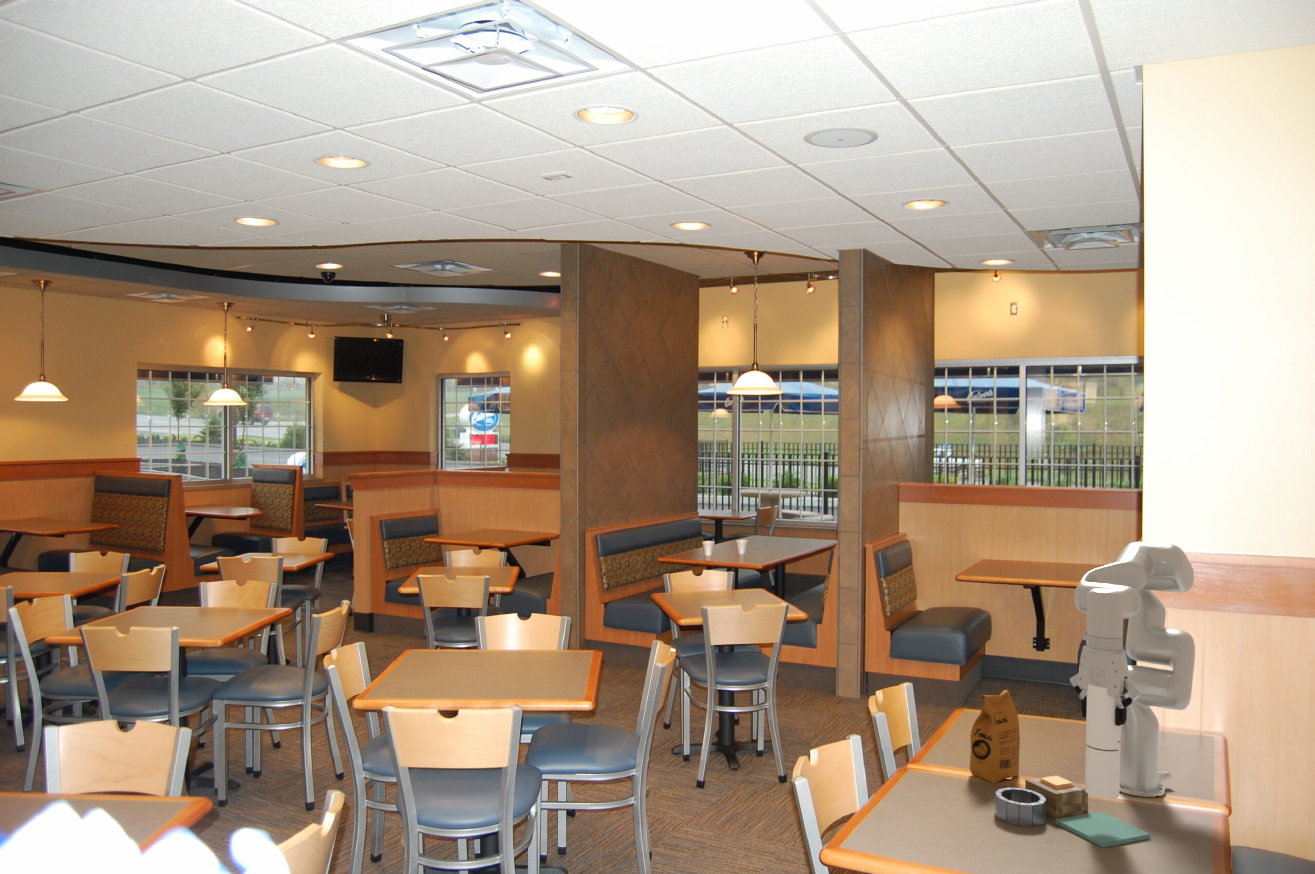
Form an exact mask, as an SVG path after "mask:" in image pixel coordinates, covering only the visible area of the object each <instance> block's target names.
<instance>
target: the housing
mask: <svg viewBox="0 0 1315 874" xmlns="http://www.w3.org/2000/svg"><path fill="white" fill-rule="evenodd" d="M1052 776H1058V777H1061V778H1063V779H1065V780H1067V781H1070V782H1072V788H1066V789H1060V790H1055V789H1053V788H1051V787H1048V786H1046V785H1044V784H1042V783H1041V778H1046V777H1052ZM1024 783H1025V784H1024V785H1025V788H1024V789H1027V790H1032V791H1035V792H1037V793H1039V794H1041V795H1043V796H1044V797H1045V799H1046V816H1048V817H1049V818H1052V819H1054V820H1056V819H1061V818H1067V817H1072V816H1078V815H1084V814H1089V794H1088V793H1086V792H1085V786H1083V785H1080V784H1079V783H1076V782H1074V781H1072V780H1069V779H1067V778H1065V777H1063V776H1061V775H1058V774H1054V775H1048V776H1043V777H1035V778H1028V779H1025V781H1024Z"/></svg>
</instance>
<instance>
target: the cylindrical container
mask: <svg viewBox="0 0 1315 874" xmlns="http://www.w3.org/2000/svg"><path fill="white" fill-rule="evenodd" d="M1120 697H1121V696H1120ZM1117 707H1118V705H1117V703H1116V701H1115V697H1112V696H1109V695H1107V688H1105V687H1100V686H1096V685H1091V684H1088V691H1087V712H1086V717H1085V719H1086V722H1085V723H1086V727H1085V770H1084V771H1085V772H1084V773H1085V777H1084V781H1085V782H1084V787H1085V792H1086V793H1088V796H1091V797H1092V796H1093V797H1095V798H1099V799H1105V800H1110V799H1111V800H1113V799H1118V798H1119V797H1120V791H1119V780H1120V726H1117V725H1116V724H1115V709H1116V708H1117Z"/></svg>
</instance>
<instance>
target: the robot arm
mask: <svg viewBox="0 0 1315 874" xmlns="http://www.w3.org/2000/svg"><path fill="white" fill-rule="evenodd" d="M1194 581H1195V574H1194V568H1193V565H1192V564H1191V562H1190V560H1189V558H1188V557H1187V554H1186V553H1185V552H1184V550H1183V549H1182V548H1181V547H1179V546H1177V545H1176V544H1172V543H1163V542H1162V543H1161V542H1149V541H1134V542H1130V543H1128V544H1127V545H1125V546H1124V547H1123V549H1122V550H1121V552H1120V553H1119V555H1118V557H1117V558H1116V560H1115V561H1114V563H1109V564H1105V565H1104V566H1100V567H1096V568H1094V569H1092V570H1090V571H1088V572H1086V573H1085V574H1084V575H1083V576H1082V577H1081V579H1080V581H1079V582H1078V585H1077V586H1076V589H1075V591H1074V600H1073V601H1074V604H1075V607H1076V608H1077V610H1078V611H1079V612H1081V613H1083V614H1086V615H1087V617H1086V626H1087V627H1086V634H1085V633H1084V634H1081V640H1083V641H1085V645H1084V646H1083V647H1082V650H1081V654H1080V659H1079V666H1078V673H1077V674H1075V675H1073V676H1072V677H1070V678H1069V682H1070V684H1071V685H1072V687H1073V688H1074V690H1075V692H1076V693H1077V695H1078V697H1079V699H1080V701H1081V704H1080V705H1081V707H1080V709H1081V712H1082V713H1081V716H1082V717H1083V718H1086V712H1087V691H1088V684H1091V685H1096V686H1100V687H1105V688H1107V695H1109V696H1112V697H1115V701H1116V703H1117V705H1118V707H1117V708H1116V709H1115V724H1116V725H1117V726H1120V780H1119V792H1120V791H1121V792H1120V793H1123V794H1127V795H1130V796H1136V797H1141V798H1157V797H1156V796H1159V797H1161V796H1164V795H1165V794H1166V788H1165V786H1164V785H1163V784H1161V782H1162V781H1163V780H1170V779H1172V774H1171V773H1170V771H1168V770H1167V771H1160V770H1159V763H1160V761H1159V760H1160V759H1159V757H1160V755H1159V753H1160V742H1159V741H1160V723H1159V722H1160V721H1159V720H1158V717H1157V715H1156V714H1155V713H1154V711H1153V709H1152V708H1151V707H1156V708H1163V709H1168V710H1174V711H1175V710H1176V711H1183V710H1186V709H1187V708H1189V705H1190V704H1191V700H1192V699H1191V698H1192V694H1193V693H1192V692H1193V680H1194V670H1195V660H1196V656H1195V655H1196V645H1195V640H1194V638H1193V636H1192V635H1191V634H1190V632H1187V631H1185V630H1182V629H1175V628H1168V627H1166V626H1165V625H1166V624H1165V623H1166V615H1167V610H1166V608H1165V606H1164V604H1163V603H1162V601H1161V599H1159V597H1158V596H1157V595H1156V594H1155V593H1154V592H1153V591H1157V592H1158V591H1159V592H1168V593H1177V594H1182V593H1183V594H1185V593H1187V592H1189V591H1191V589H1192V587H1193V586H1194ZM1124 619H1128V623H1127V630H1126V639H1125V651H1124V649H1123V647H1124V644H1123V643H1124ZM1127 656H1128V658H1129V659H1131V660H1134V661H1136V662H1140V663H1146V664H1151V665H1152V664H1153V665H1160V666H1165V667H1170V668H1172V669H1171V670H1169V669H1162V668H1156V667H1149V666H1144V665H1137V664H1135V665H1134V664H1128V658H1127ZM1120 696H1121V697H1120Z"/></svg>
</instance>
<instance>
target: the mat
mask: <svg viewBox="0 0 1315 874" xmlns="http://www.w3.org/2000/svg"><path fill="white" fill-rule="evenodd" d="M1055 825H1058V826H1060V827H1061V828H1063V829H1065V830H1067V831H1069V832H1071V833H1073V834H1076V835H1078V836H1079V837H1081V838H1083V839H1085V840H1087V841H1089V842H1091V843H1093V844H1095V845H1097V846H1099V847H1101V848H1109V847H1113V846H1118V845H1123V844H1129V843H1134V841H1135V842H1139V841H1144V840H1150V839H1151V834H1150V833H1149V832H1146V831H1144V830H1142V829H1140V828H1139V827H1136V826H1134V825H1131V824H1129V823H1127V822H1124V821H1123V820H1121V819H1119V818H1117V817H1114V816H1112V815H1109V814H1107V813H1106V812H1103V811H1096V812H1095V811H1094V812H1090V813H1089V812H1088V814H1083V815H1077V816H1072V817H1066V818H1061V819H1055Z"/></svg>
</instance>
